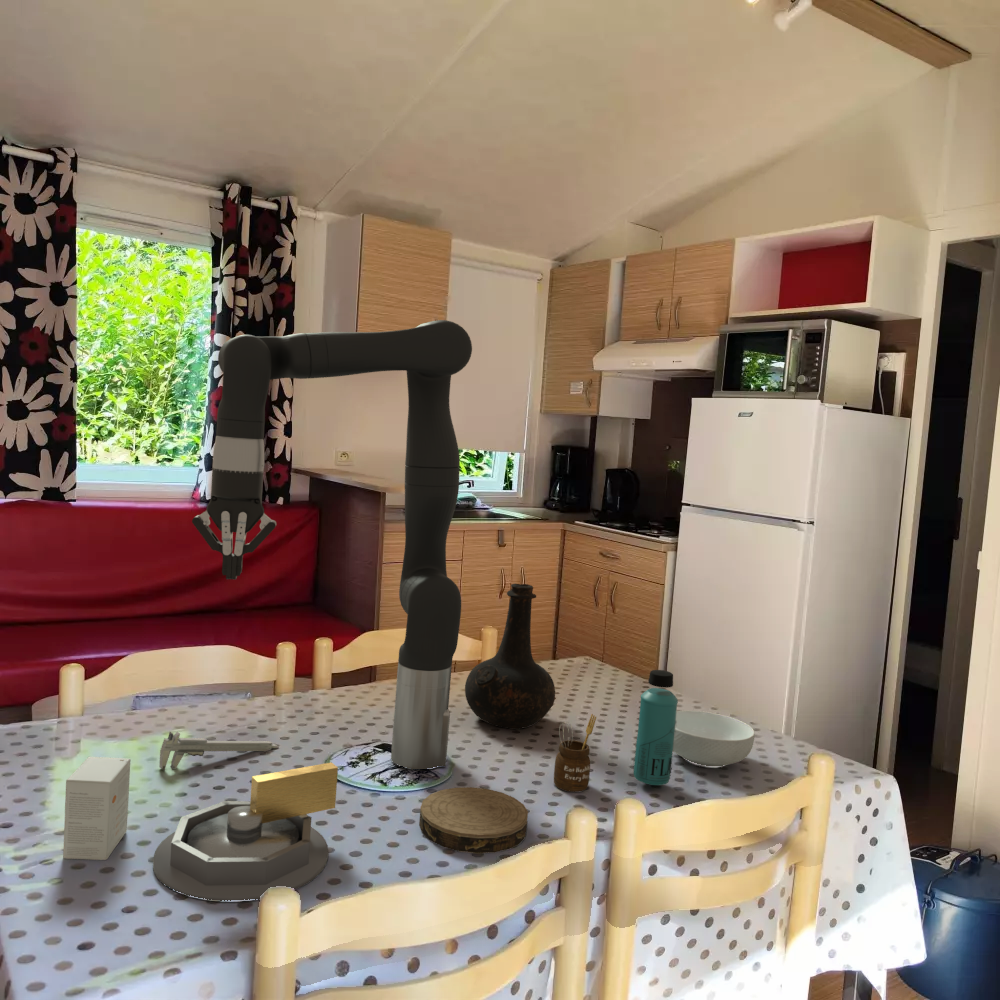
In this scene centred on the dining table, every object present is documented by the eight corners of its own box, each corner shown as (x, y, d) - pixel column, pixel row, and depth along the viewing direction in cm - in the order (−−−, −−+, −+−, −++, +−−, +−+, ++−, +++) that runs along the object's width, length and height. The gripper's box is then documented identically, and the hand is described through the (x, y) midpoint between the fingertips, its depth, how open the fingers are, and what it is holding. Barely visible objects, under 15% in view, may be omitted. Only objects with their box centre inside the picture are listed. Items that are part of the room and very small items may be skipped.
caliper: (161, 773, 142) (163, 734, 141) (158, 770, 142) (161, 732, 142) (278, 749, 155) (280, 714, 155) (275, 747, 156) (277, 712, 155)
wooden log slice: (440, 861, 121) (442, 840, 121) (405, 811, 135) (406, 792, 135) (545, 848, 127) (546, 827, 127) (500, 801, 142) (502, 783, 142)
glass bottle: (445, 714, 180) (456, 577, 177) (511, 702, 192) (523, 573, 189) (502, 743, 167) (515, 596, 164) (570, 728, 178) (583, 590, 176)
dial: (208, 887, 107) (212, 812, 106) (172, 837, 118) (176, 770, 118) (353, 850, 119) (358, 783, 118) (308, 809, 130) (313, 747, 129)
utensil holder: (546, 780, 151) (553, 711, 150) (579, 777, 154) (586, 709, 153) (562, 794, 146) (569, 723, 145) (596, 791, 148) (603, 721, 147)
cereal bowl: (767, 764, 167) (771, 728, 167) (722, 786, 155) (727, 747, 154) (688, 737, 179) (691, 703, 178) (641, 755, 166) (645, 718, 166)
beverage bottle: (646, 796, 148) (658, 678, 146) (623, 780, 154) (634, 667, 152) (677, 791, 151) (690, 676, 149) (653, 776, 157) (665, 665, 155)
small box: (85, 830, 121) (88, 755, 120) (127, 832, 121) (131, 757, 120) (61, 859, 113) (64, 779, 112) (106, 861, 113) (110, 781, 112)
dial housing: (328, 819, 130) (330, 792, 130) (326, 900, 108) (329, 869, 108) (170, 819, 126) (171, 791, 125) (135, 904, 104) (137, 871, 104)
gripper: (189, 465, 132) (182, 581, 133) (281, 472, 134) (273, 585, 136) (196, 462, 139) (190, 572, 141) (283, 468, 142) (277, 576, 143)
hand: (231, 578), depth 138 cm, fingers closed
